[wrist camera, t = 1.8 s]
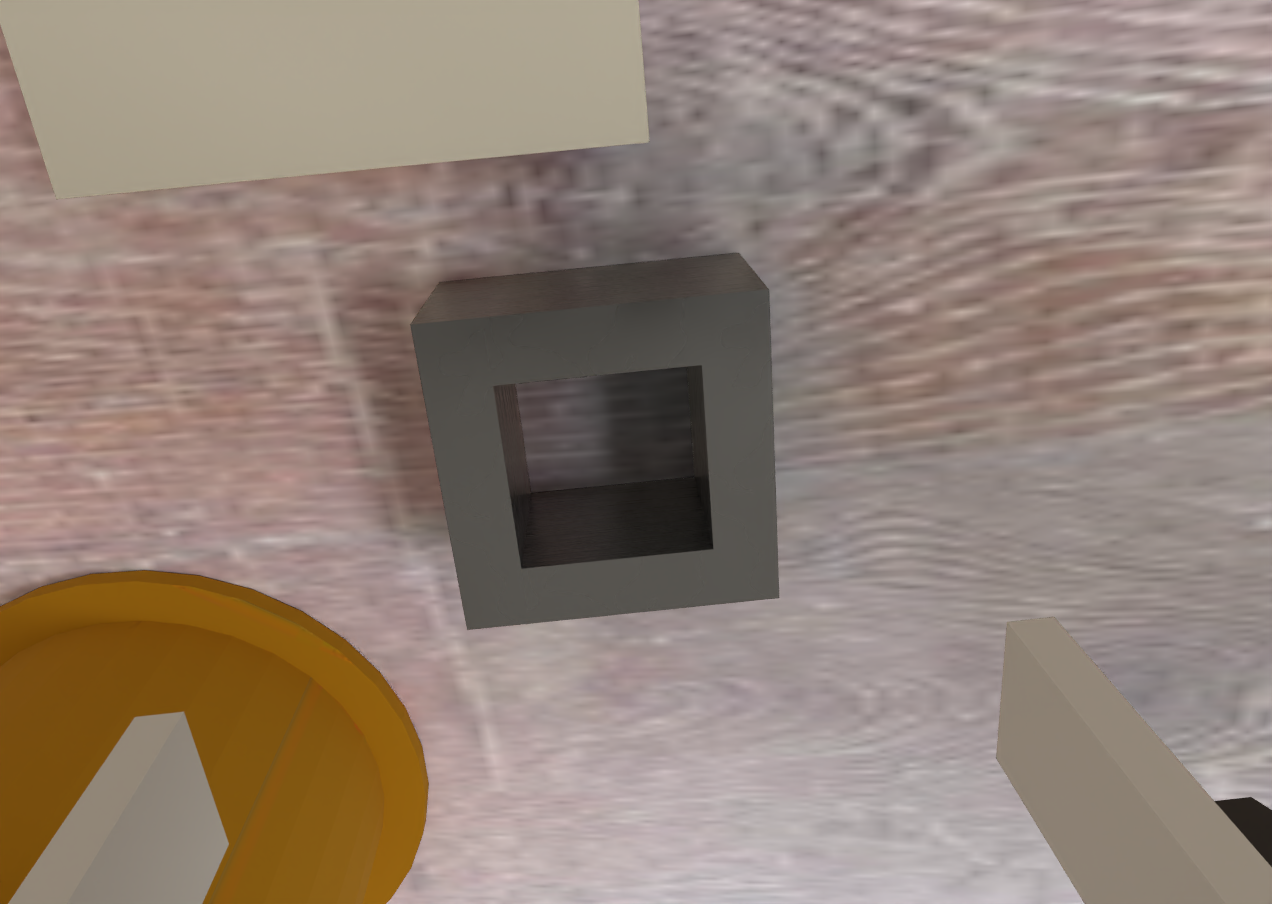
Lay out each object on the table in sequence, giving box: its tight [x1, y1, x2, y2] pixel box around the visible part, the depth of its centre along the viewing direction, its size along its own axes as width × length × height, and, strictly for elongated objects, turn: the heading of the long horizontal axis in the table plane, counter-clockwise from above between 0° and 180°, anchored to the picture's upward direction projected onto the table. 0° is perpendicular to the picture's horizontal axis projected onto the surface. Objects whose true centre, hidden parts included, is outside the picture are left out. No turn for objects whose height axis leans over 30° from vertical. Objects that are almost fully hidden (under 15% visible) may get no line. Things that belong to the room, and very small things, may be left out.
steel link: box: [410, 253, 779, 630], centre depth 27 cm, size 9×9×5 cm
